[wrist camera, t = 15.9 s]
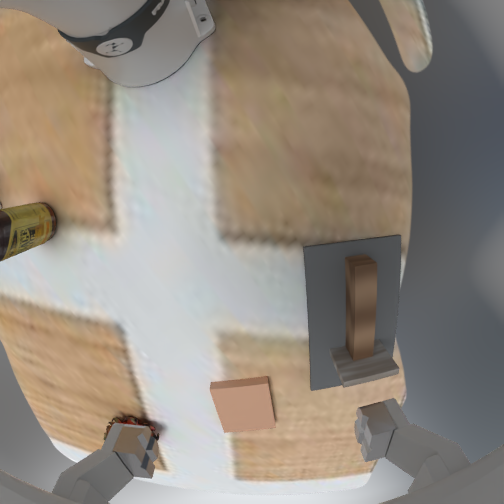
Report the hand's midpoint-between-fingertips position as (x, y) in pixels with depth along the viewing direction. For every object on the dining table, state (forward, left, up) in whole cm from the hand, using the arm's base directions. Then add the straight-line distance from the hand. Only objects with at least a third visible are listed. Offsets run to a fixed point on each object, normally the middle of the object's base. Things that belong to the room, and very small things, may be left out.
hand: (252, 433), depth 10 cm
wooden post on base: (+10, +14, -28) cm, 33 cm away
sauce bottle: (-8, -30, -29) cm, 43 cm away
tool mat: (+13, +14, -29) cm, 35 cm away
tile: (+21, -4, -28) cm, 35 cm away
